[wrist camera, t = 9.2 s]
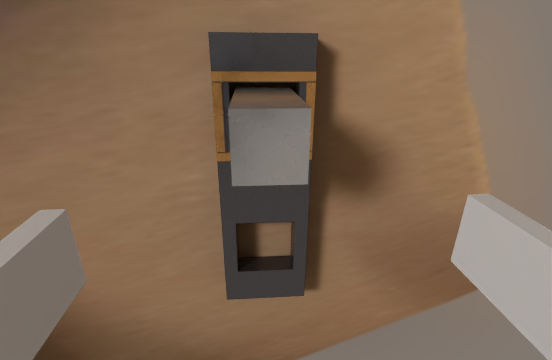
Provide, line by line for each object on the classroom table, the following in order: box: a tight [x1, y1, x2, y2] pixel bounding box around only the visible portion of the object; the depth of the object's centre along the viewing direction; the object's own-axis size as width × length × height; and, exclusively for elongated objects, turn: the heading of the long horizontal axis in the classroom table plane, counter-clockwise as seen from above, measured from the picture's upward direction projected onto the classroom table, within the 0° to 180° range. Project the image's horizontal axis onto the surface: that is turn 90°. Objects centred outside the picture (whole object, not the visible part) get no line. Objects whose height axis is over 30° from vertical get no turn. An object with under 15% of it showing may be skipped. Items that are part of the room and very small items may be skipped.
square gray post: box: [228, 87, 312, 186], centre depth 25 cm, size 5×5×12 cm
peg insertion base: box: [208, 32, 318, 300], centre depth 32 cm, size 9×28×3 cm, turn 0°
